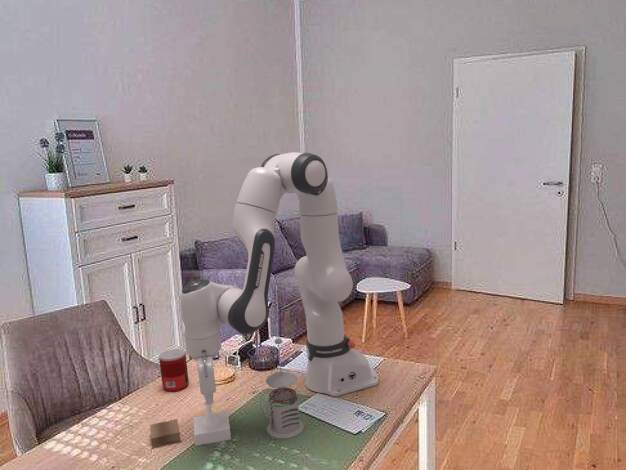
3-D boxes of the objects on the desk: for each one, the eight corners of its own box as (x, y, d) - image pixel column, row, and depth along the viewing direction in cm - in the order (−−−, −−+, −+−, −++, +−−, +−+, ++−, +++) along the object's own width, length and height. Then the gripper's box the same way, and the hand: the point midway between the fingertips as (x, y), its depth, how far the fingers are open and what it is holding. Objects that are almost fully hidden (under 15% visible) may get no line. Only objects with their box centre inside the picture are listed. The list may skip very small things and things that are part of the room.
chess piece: (216, 428, 135) (212, 392, 133) (198, 428, 136) (194, 392, 134) (222, 418, 140) (218, 383, 138) (204, 417, 141) (200, 383, 139)
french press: (311, 427, 138) (305, 337, 134) (276, 446, 131) (268, 351, 126) (288, 413, 146) (281, 328, 141) (253, 431, 138) (245, 341, 133)
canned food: (192, 386, 165) (188, 354, 163) (167, 395, 161) (163, 361, 159) (183, 378, 171) (180, 346, 169) (159, 386, 167) (155, 353, 165)
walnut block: (178, 428, 142) (177, 418, 142) (180, 442, 136) (179, 432, 135) (151, 435, 140) (150, 424, 139) (152, 449, 134) (151, 438, 133)
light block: (228, 421, 144) (227, 411, 143) (231, 439, 135) (230, 428, 134) (194, 427, 142) (193, 417, 141) (195, 446, 133) (194, 435, 133)
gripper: (218, 358, 124) (224, 411, 127) (213, 328, 144) (219, 374, 147) (190, 362, 123) (197, 416, 126) (190, 331, 143) (196, 378, 145)
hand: (209, 393), depth 136 cm, fingers open, 8 cm apart
